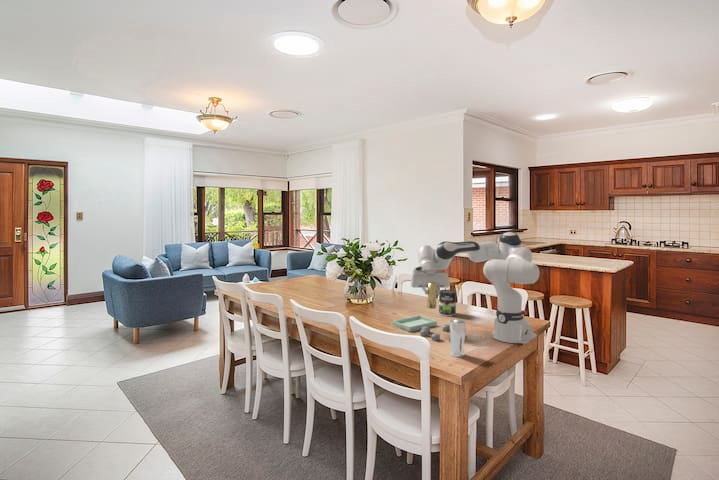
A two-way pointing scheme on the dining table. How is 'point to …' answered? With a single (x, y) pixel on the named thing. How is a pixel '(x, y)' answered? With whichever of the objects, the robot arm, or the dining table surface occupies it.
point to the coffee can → (447, 302)
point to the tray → (414, 323)
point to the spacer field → (435, 336)
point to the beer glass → (457, 337)
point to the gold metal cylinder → (432, 295)
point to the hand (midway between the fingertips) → (432, 293)
